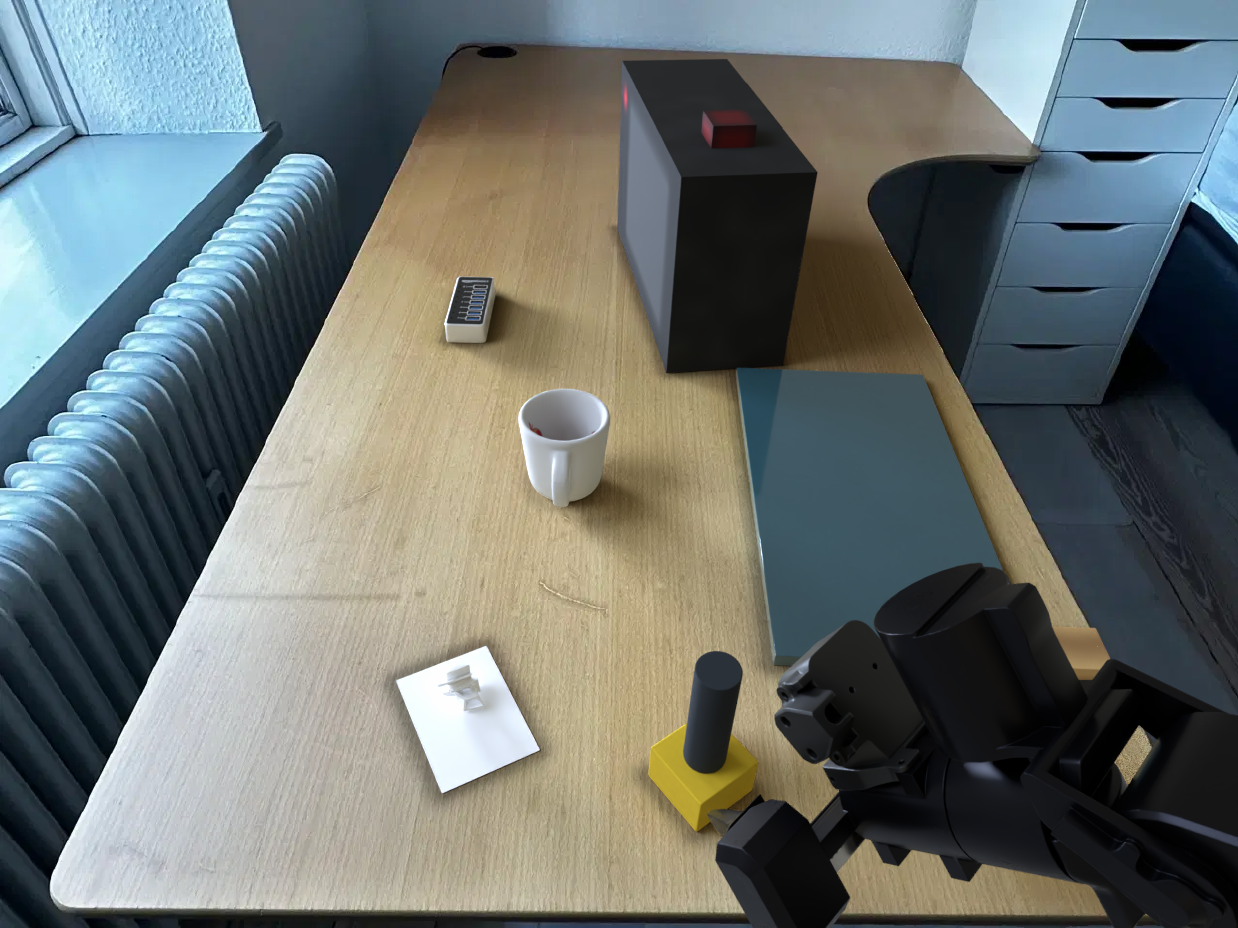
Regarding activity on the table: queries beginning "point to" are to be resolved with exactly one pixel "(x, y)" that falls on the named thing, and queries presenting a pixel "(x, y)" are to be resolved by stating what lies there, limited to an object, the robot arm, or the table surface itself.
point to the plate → (849, 497)
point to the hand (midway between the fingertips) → (762, 768)
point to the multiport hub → (470, 310)
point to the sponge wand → (706, 746)
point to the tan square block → (1082, 650)
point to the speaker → (710, 213)
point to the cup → (564, 443)
